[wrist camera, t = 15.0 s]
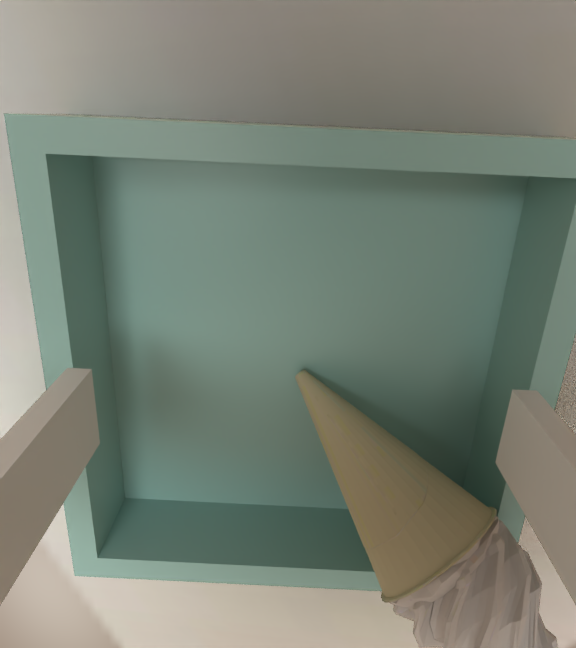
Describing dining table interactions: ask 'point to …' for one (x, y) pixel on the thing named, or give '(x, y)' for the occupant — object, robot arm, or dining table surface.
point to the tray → (285, 323)
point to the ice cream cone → (428, 536)
